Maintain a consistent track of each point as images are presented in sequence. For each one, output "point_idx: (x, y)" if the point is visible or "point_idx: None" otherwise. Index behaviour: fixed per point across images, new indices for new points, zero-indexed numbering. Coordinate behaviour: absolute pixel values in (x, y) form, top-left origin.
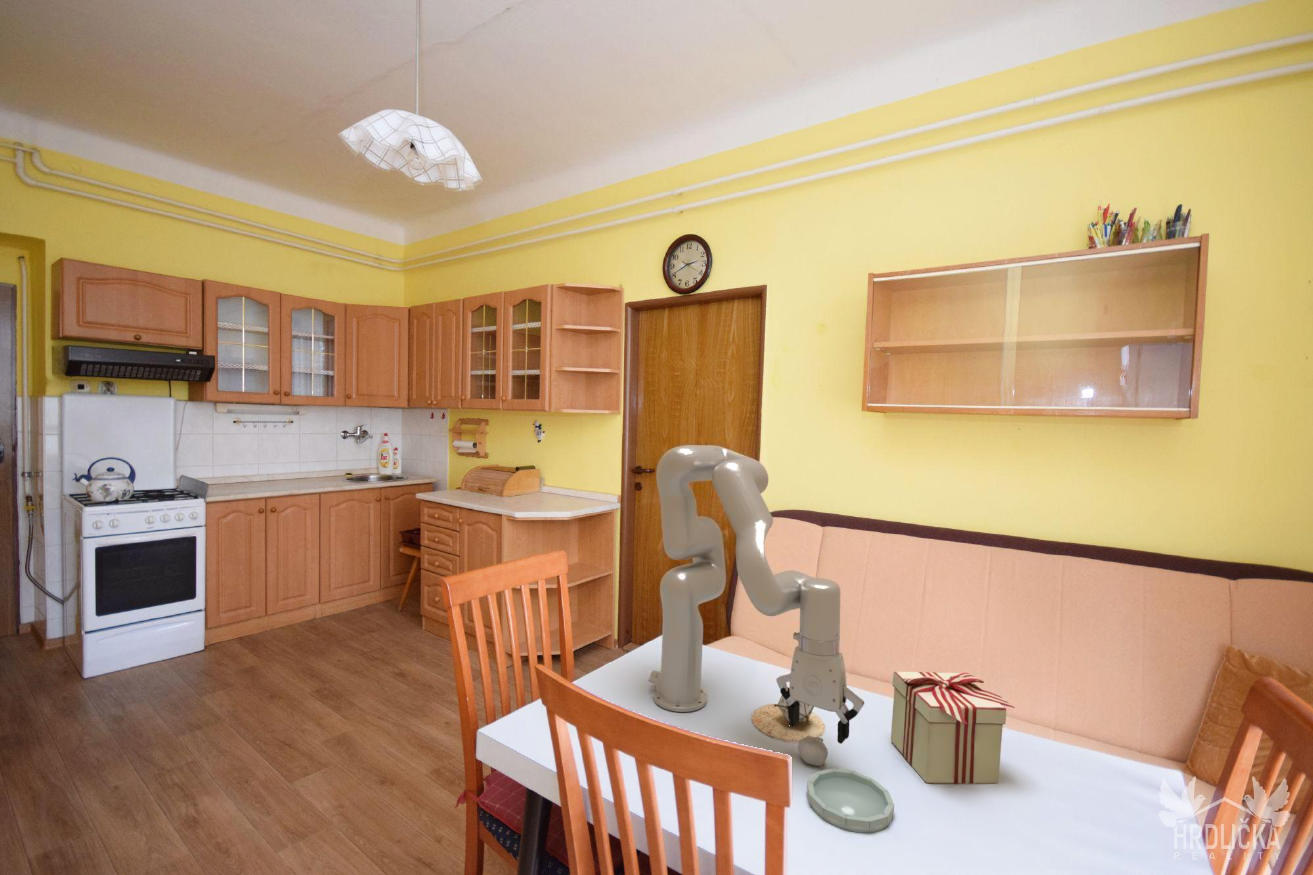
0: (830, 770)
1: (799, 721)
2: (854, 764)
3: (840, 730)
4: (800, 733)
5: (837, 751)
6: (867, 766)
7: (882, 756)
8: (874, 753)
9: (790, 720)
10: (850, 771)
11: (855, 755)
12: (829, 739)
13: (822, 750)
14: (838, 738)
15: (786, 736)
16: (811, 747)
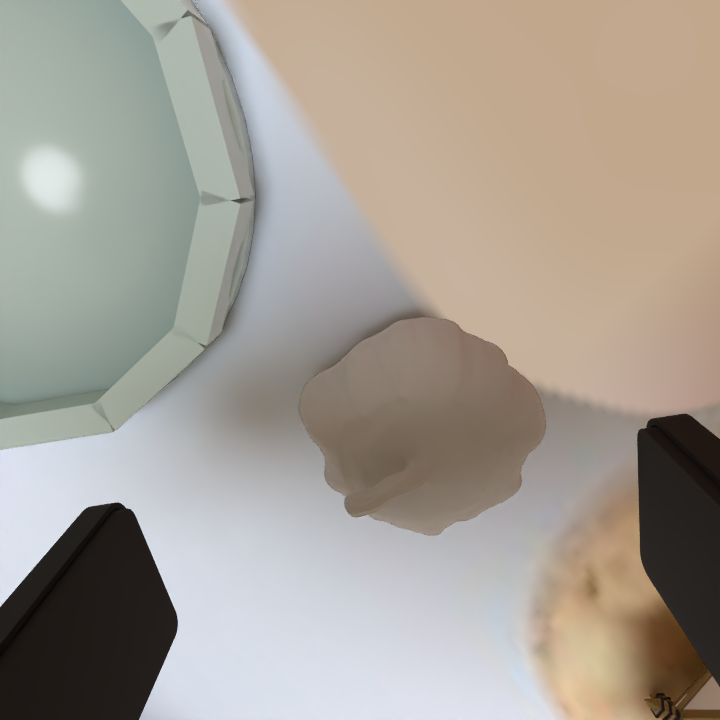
0: (193, 314)
1: (707, 670)
2: (247, 543)
3: (8, 609)
4: (643, 586)
5: (380, 581)
6: (197, 574)
7: (212, 689)
8: (250, 686)
9: (712, 447)
10: (114, 411)
11: (296, 613)
12: (479, 644)
13: (313, 423)
14: (91, 529)
15: None
16: (388, 382)
